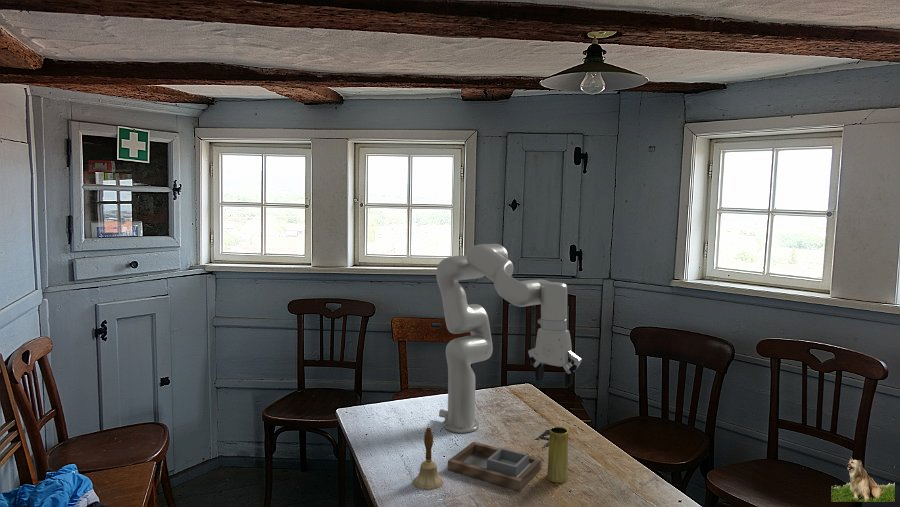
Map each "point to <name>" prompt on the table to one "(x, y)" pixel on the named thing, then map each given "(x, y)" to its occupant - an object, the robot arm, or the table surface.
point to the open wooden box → (474, 465)
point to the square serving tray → (508, 462)
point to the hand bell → (428, 467)
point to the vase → (558, 455)
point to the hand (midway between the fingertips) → (553, 382)
